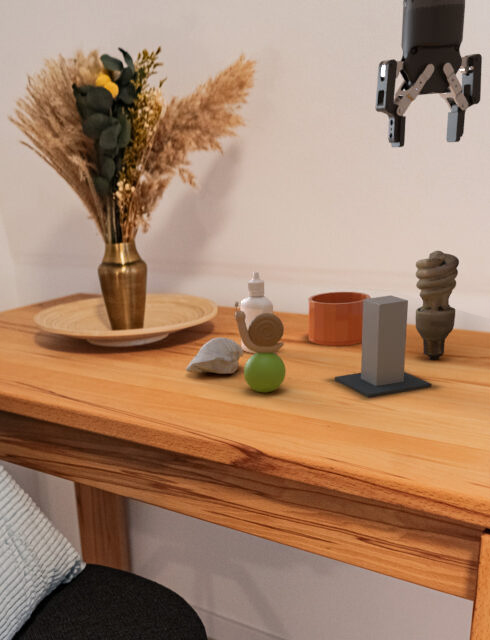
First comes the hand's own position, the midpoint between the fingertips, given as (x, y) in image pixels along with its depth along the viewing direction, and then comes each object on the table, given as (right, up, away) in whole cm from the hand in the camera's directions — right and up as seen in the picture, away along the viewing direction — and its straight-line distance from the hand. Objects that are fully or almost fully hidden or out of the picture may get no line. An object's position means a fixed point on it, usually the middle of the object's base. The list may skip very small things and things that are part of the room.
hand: (425, 144), depth 113 cm
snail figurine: (-22, -34, -1) cm, 41 cm away
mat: (-7, -33, -2) cm, 34 cm away
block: (-7, -32, -3) cm, 33 cm away
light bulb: (+3, -28, +6) cm, 29 cm away
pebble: (-28, -30, +9) cm, 41 cm away
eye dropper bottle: (-20, -25, +18) cm, 37 cm away
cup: (-7, -22, +21) cm, 31 cm away
